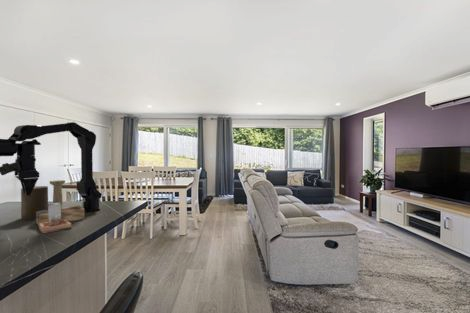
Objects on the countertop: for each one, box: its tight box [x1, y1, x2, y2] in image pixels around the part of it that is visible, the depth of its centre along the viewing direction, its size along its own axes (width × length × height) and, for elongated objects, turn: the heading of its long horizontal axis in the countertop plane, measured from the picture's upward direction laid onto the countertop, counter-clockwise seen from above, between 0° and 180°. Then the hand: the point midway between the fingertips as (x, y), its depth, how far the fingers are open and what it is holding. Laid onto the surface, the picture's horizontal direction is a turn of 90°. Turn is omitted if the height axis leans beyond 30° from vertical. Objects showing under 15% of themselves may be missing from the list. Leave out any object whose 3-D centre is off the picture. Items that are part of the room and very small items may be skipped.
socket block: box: [35, 205, 85, 226], centre depth 109 cm, size 16×8×4 cm, turn 135°
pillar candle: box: [20, 185, 49, 221], centre depth 115 cm, size 10×10×15 cm
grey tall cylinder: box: [48, 202, 61, 227], centre depth 99 cm, size 4×4×9 cm
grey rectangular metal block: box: [36, 210, 48, 219], centre depth 105 cm, size 6×3×2 cm, turn 135°
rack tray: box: [38, 219, 72, 234], centre depth 99 cm, size 9×9×2 cm
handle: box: [49, 179, 66, 208], centre depth 127 cm, size 5×6×15 cm
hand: (26, 194), depth 103 cm, fingers open, 9 cm apart
